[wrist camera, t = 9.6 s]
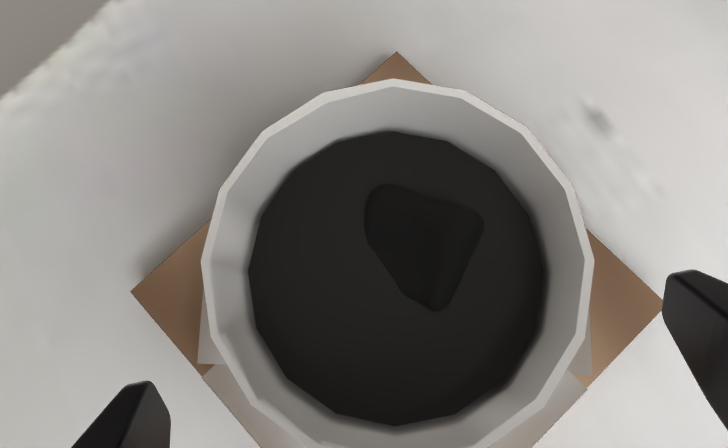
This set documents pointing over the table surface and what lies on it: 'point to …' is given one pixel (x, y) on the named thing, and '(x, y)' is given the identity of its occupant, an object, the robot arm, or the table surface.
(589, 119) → the table surface
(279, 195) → the white cup
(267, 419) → the ring board
